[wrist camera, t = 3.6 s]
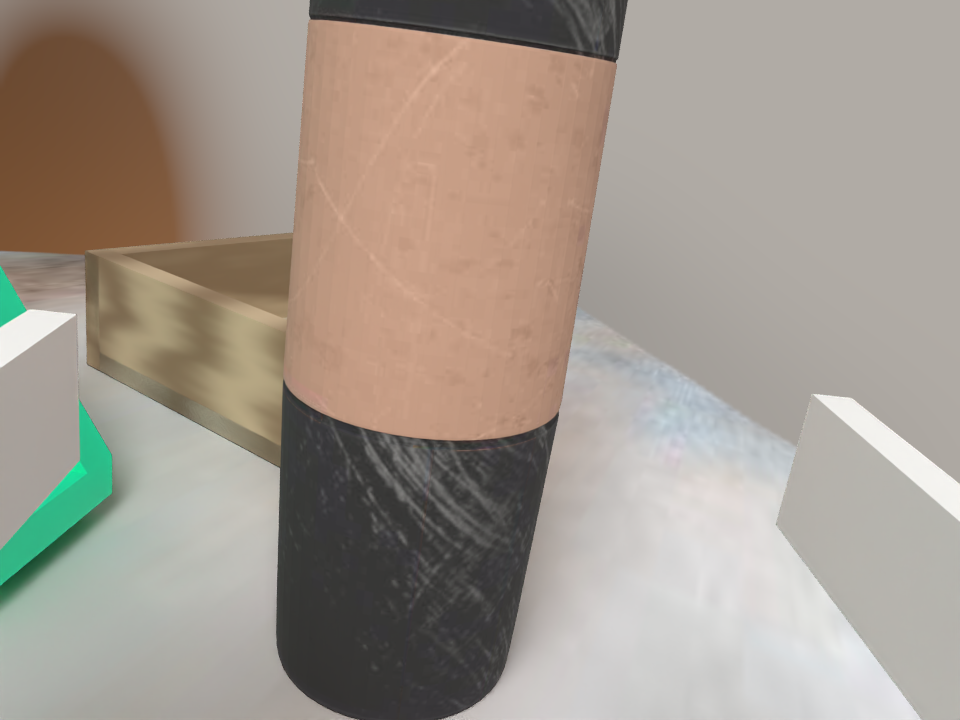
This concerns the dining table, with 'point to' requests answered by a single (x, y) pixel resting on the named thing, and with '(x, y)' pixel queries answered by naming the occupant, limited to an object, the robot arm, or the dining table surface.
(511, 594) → the travel mug
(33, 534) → the camera mount
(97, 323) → the corner tray
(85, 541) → the dining table surface
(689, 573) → the dining table surface
